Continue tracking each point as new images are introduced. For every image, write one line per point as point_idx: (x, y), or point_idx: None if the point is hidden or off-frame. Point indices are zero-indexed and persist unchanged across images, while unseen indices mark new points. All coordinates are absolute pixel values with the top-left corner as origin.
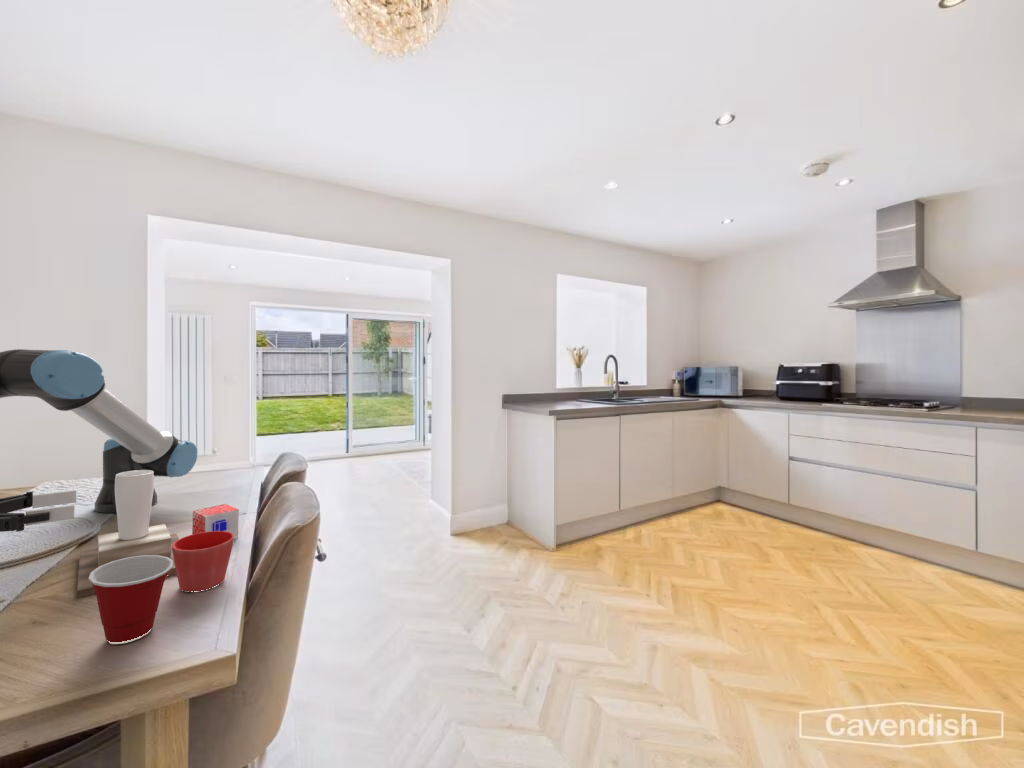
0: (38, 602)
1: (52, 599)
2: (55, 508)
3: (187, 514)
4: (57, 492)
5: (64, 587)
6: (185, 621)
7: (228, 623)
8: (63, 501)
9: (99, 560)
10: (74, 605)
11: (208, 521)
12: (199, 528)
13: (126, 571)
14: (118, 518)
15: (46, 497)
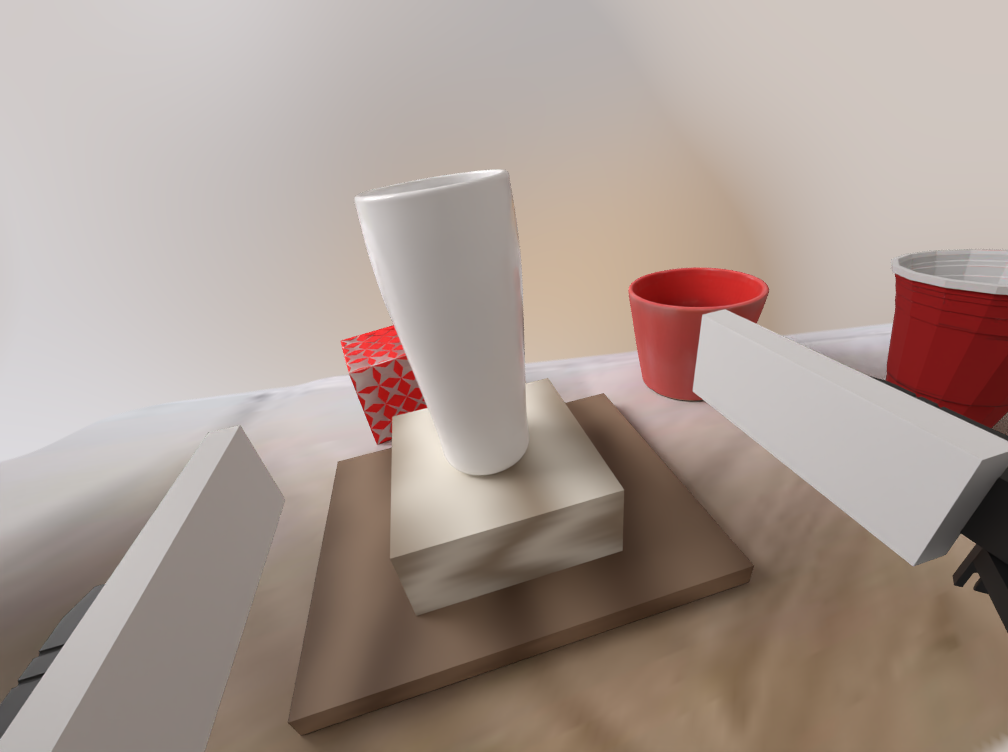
0: (785, 711)
1: (756, 663)
2: (798, 350)
3: (105, 500)
4: (154, 523)
5: (644, 664)
6: None
7: (846, 332)
8: (255, 542)
9: (622, 512)
10: (801, 569)
11: None
12: (412, 393)
13: (949, 311)
14: (502, 398)
15: (163, 622)
